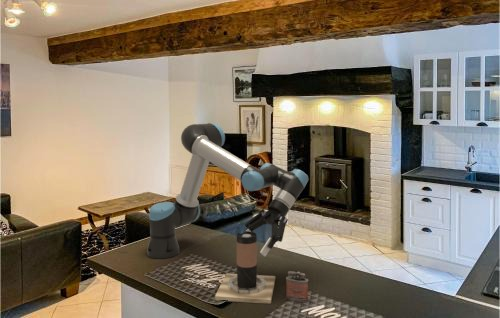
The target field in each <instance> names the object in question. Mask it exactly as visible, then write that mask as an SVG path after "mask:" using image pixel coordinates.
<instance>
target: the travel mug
mask: <svg viewBox="0 0 500 318" xmlns="http://www.w3.org/2000/svg"><path fill="white" fill-rule="evenodd" d="M245 231H246V230H245ZM245 231H243V232H242V233H241V232H238V233H236V274H237V284H238V287H239V288H248V289H249V288H254V287H256V280H257V275H258V243H257V242H258V240H257V239H258V235H257V233H256V232H255V231H252V232H249V231H246V232H245Z"/></svg>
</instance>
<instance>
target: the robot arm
mask: <svg viewBox="0 0 500 318" xmlns="http://www.w3.org/2000/svg"><path fill="white" fill-rule="evenodd" d="M180 140H181V144H182V146H183V147H184V149H185V150H186V151H188V152H189V153H190V154H191V157H190V160H189V161H190V162H189V165H188V167H187V172H186V174H185V177H184V181H183V184H182V187H181V190H180V193H179V194H177V195H176V196H175V199H174V202H172V201H163V202H158V203H155V204H153V205H152V206H151V207H150V208H149V215H148V219H149V234H150V235H149V236H150V238H149V242H148V245H147V248H146V254H147V255H146V256H148V258H152V259H168V258H173V257H176V256H178V255H179V254H180V251H181V250H180V245H179V242H178V239H177V236H176V228H180V227H182V226H186V225H189V224H192V223H194V222H196V221H197V220H198V219H199V218H200V215H201V208H200V203H199V202H200V201H199V200H198V196H199V195H200V192H201V191H200V190H201V188H202V185H203V182H204V179H205V177H206V173H207V171H208V170H207V169H208V167H209V164H210V163H211V164H212V165H215V166H216V167H217V168H219V169H221V171H224V172H226V173H227V174H229V175H230V176H231V177H234V178H236V179H237V180H238V181H240V182H241V185H242V187H243V188H244V190H246V191H249V192H254V191H255V192H256V191H259V190H262V189H265V188H269V187H272V186H274V187H277V188H279V190H278V192H277V193H276V195H275V196H274V199H272V200H271V202H270V204H269V205H268V210H267V211H266V210H265V209H264V208H262V209H260V211H259V213H257V214H256V215H255V216H253V217H252V218H251V219H250V220H248V221H247V222H246V223H245V224H244V226H245V227H246V229H245V230H244V232H246V231H249V232H254V231H255V230H256V229H258V228H260V227H263V226H264V225H271V236H270V237H269V238H268V239H267V240H266V242H265V244H264V245H263V246H262V248H261V249H260V251H259V253H260V254H261V255H262V256H263V257H267V255H268V253H269V252H270V251H271V250H272V249H273V247H274V246H275V244H276V243H277V242H279V243H282V242H283V238H284V234H285V229H286V225H287V223H288V221H289V219H288V218H287V217H286V216H287V215H288V213H289V211H290V209H291V208H292V206H293V205H294V203H295V202H296V201H297V199H298V197H299V196H300V194H301V193H302V192H303V190H304V189H305V187H306V185H307V183H308V182H309V176H308V174H306V173H305V172H304V171H303V170H301V169H297V168H294V169H293V170H292V171H291V172H290V171H288V170H285V169H283V168H281V167H278V166H276V165H275V164H272V163H269V162H265V163H264V164H263V165H261V167H259V168H257V167H256V166H255V167H254V165H252V164H249V163H248V162H246V161H244V160H243V159H242V158H239V157H238V156H236V155H234V154H233V153H231V152H230V151H228V150H226V149H224V148H222V146H224V144H225V141H226V135H225V132H224V129H223V128H222V127H221V126H220V125H219V124H216V123H212V122H208V123H198V124H197V123H194V124H190V125H188V126H186V127H185V128H184V129H183V130H182V133H181V135H180Z"/></svg>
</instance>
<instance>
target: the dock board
mask: <svg viewBox="0 0 500 318" xmlns="http://www.w3.org/2000/svg"><path fill="white" fill-rule="evenodd" d="M236 275H237V273H225V275H224V277H223V279H222V281H221V283H220V284H219V288H218V289H217V292H216V293H215V295H214V301H219V300H228V301H227V302H234V303H235V302H237V303H238V302H239V303H250V304H251V303H254V304H265V305H266V304H269V305H270V304H272V299H273V294H274V289H275V282H276V276H275V275H259V274H257V276H260V277H262V278H263V279H264V280H265V281H266V286H265V289H264V290H262V291H260V292H258V293H254V294H238V293H235V292H232V291H231V290H230V289H229V288H228V281H229V279H230V278H232V277H234V276H236ZM233 285H234V286H236V287H238V284H237V281H236V282H234V283H233ZM259 285H261V284H260V283H259V282H258V281H256V287H257V286H259Z"/></svg>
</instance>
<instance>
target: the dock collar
mask: <svg viewBox="0 0 500 318" xmlns="http://www.w3.org/2000/svg"><path fill="white" fill-rule="evenodd" d="M236 281H237V275H236V276H234V277H232V278H230V279H229V281H228V288H229V289H230V290H231V291H232V292H235V293H238V294H254V293H258V292H260V291H262V290H264V289H265V286H266V281H265V280H264V279H263V278H262V277H260V276H257V280H256V281H258V282H259V283H260V284H261V285H259V286H257V287H254V288H249V289H248V288H239V287H236V286H234V285H233V283H234V282H236Z"/></svg>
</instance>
